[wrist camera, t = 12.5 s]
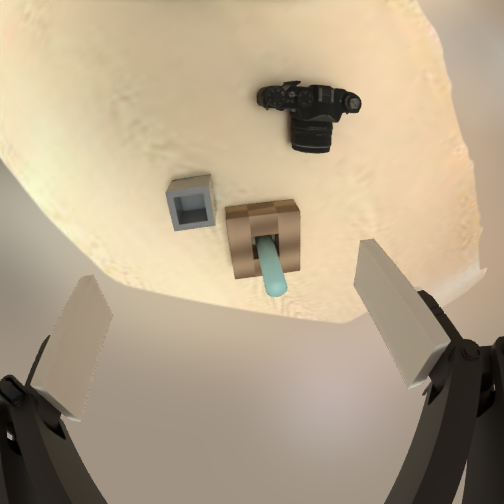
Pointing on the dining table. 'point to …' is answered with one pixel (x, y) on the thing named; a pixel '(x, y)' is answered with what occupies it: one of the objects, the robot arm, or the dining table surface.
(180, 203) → the pen cup
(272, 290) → the dowel
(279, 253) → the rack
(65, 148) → the dining table surface
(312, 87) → the camera
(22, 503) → the robot arm
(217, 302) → the dining table surface
